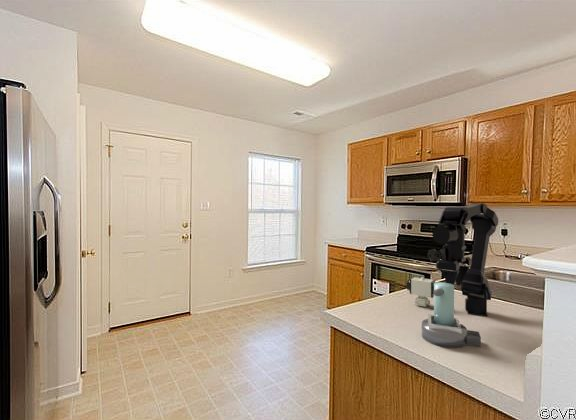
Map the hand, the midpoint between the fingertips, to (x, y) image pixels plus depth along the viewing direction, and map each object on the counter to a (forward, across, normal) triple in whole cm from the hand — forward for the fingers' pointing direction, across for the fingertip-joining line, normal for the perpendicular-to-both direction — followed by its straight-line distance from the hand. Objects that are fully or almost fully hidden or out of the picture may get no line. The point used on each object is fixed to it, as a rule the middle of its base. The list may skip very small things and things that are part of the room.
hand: (454, 287), depth 105 cm
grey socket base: (+14, +13, +3) cm, 19 cm away
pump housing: (+10, +15, +1) cm, 18 cm away
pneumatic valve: (+13, -13, -16) cm, 24 cm away
